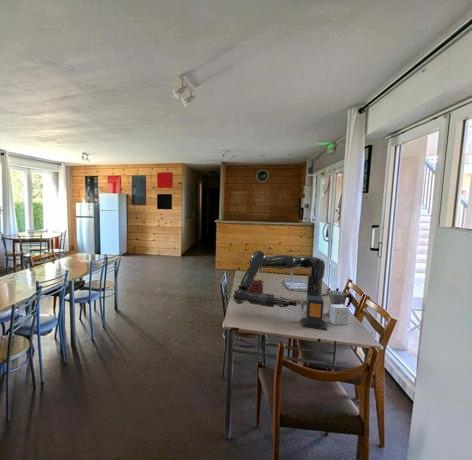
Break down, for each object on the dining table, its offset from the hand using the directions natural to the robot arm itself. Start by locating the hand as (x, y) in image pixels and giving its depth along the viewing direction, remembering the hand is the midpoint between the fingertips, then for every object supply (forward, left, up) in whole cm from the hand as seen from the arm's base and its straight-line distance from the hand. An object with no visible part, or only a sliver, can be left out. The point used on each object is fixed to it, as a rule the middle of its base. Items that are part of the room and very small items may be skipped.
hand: (296, 303), depth 174 cm
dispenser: (0, +10, -11) cm, 15 cm away
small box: (-8, +24, -11) cm, 28 cm away
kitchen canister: (-39, -28, -11) cm, 49 cm away
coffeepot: (-19, +25, -11) cm, 34 cm away
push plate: (0, +3, -3) cm, 4 cm away
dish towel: (-79, +3, -11) cm, 80 cm away
